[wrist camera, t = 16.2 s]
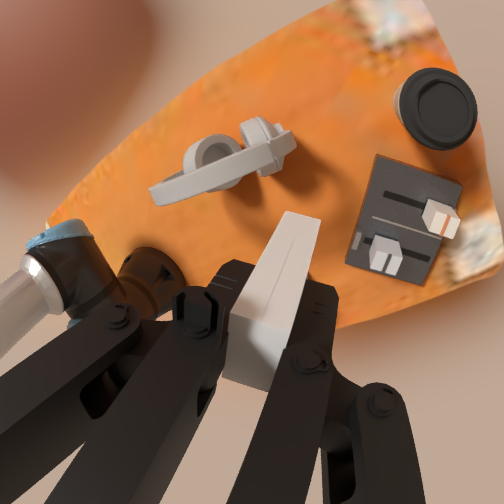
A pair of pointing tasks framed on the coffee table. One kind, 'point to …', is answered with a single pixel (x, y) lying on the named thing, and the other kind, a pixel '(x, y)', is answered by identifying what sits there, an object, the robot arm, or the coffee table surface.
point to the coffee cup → (436, 108)
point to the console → (400, 216)
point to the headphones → (226, 161)
